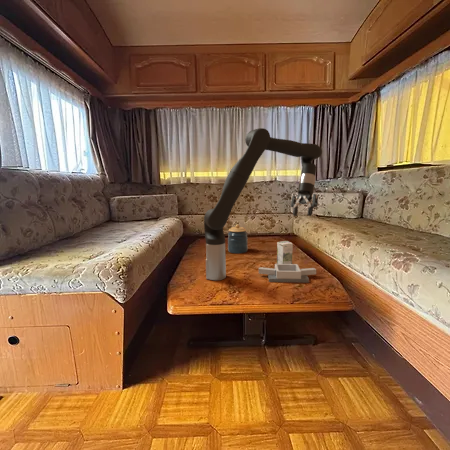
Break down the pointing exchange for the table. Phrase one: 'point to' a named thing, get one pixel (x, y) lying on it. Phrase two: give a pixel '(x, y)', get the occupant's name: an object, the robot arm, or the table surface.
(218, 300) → the table surface
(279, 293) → the table surface
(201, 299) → the table surface
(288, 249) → the syrup box
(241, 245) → the canister
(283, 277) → the base
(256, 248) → the table surface
